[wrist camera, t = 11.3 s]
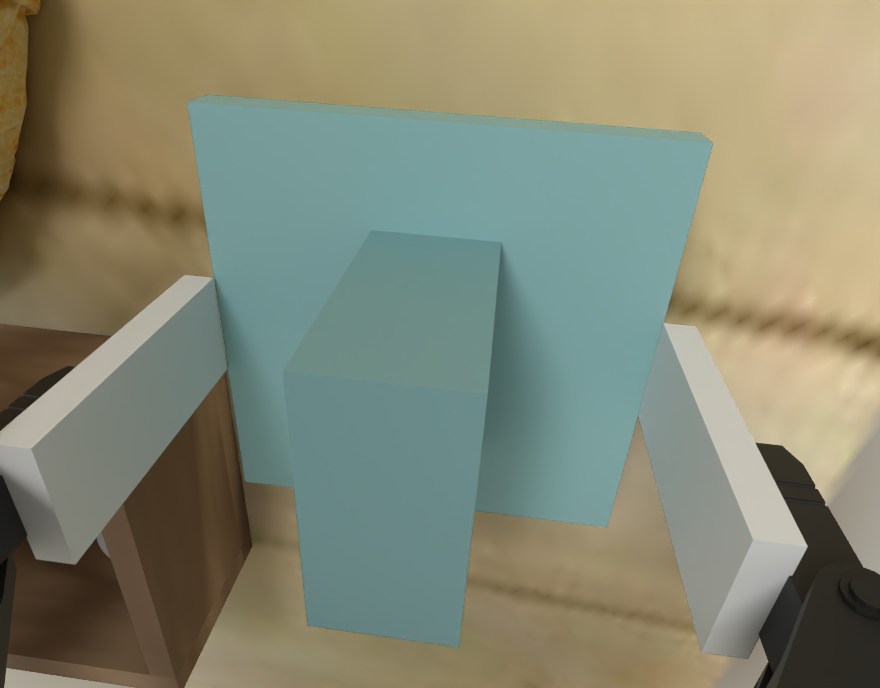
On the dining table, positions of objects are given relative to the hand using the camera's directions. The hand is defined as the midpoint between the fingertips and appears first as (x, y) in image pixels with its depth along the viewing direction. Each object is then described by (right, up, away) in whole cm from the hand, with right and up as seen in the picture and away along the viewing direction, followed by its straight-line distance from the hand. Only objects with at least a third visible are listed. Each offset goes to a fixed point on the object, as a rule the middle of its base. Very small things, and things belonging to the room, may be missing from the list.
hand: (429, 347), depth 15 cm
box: (-14, -4, +11) cm, 18 cm away
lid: (0, +1, +2) cm, 3 cm away
